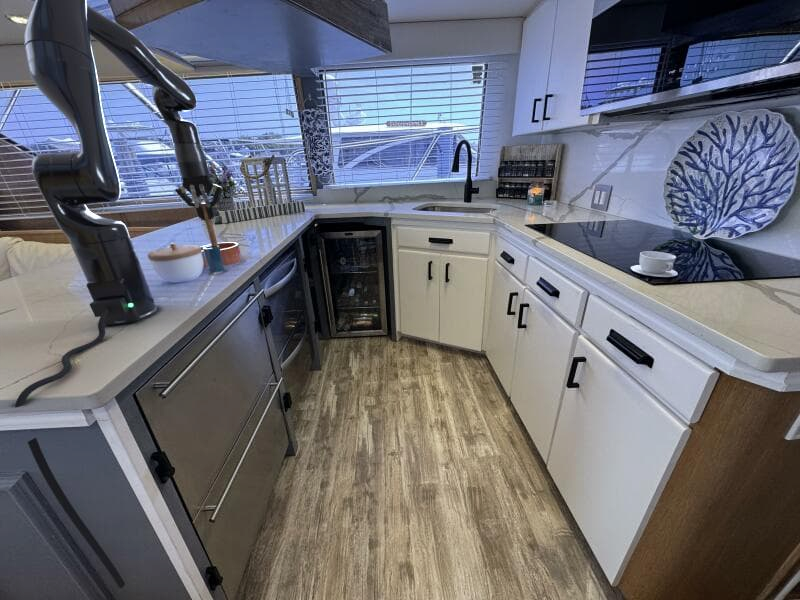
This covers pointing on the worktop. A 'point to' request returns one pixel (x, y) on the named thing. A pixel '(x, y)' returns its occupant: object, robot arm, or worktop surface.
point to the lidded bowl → (177, 263)
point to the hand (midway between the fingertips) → (207, 219)
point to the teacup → (655, 264)
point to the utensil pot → (213, 258)
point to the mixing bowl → (226, 253)
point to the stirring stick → (209, 225)
